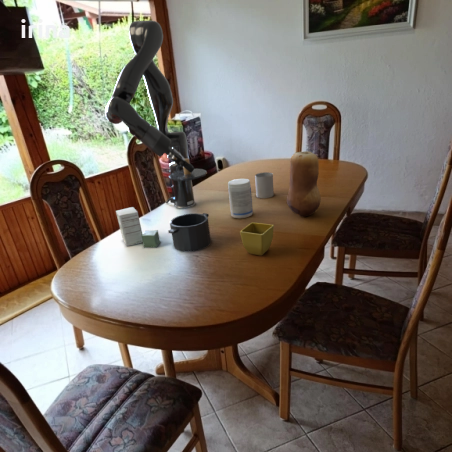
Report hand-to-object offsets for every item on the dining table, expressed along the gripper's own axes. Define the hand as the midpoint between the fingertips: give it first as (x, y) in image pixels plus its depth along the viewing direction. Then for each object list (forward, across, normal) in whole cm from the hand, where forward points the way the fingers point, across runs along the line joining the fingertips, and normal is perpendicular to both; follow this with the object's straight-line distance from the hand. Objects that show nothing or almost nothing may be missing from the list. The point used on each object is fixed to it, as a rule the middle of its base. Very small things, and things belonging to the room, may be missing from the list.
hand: (192, 169), depth 157 cm
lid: (0, 0, +3) cm, 3 cm away
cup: (+41, +26, -8) cm, 49 cm away
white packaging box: (-3, -7, +36) cm, 37 cm away
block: (+2, -14, +31) cm, 34 cm away
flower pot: (+28, -36, +4) cm, 46 cm away
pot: (+13, -19, +20) cm, 30 cm away
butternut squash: (+47, -7, -14) cm, 49 cm away
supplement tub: (+30, +4, +3) cm, 30 cm away
